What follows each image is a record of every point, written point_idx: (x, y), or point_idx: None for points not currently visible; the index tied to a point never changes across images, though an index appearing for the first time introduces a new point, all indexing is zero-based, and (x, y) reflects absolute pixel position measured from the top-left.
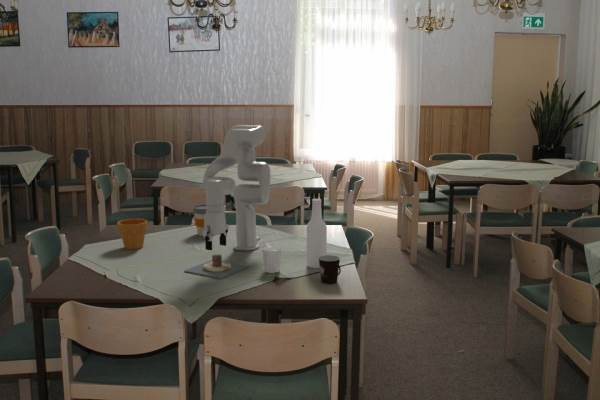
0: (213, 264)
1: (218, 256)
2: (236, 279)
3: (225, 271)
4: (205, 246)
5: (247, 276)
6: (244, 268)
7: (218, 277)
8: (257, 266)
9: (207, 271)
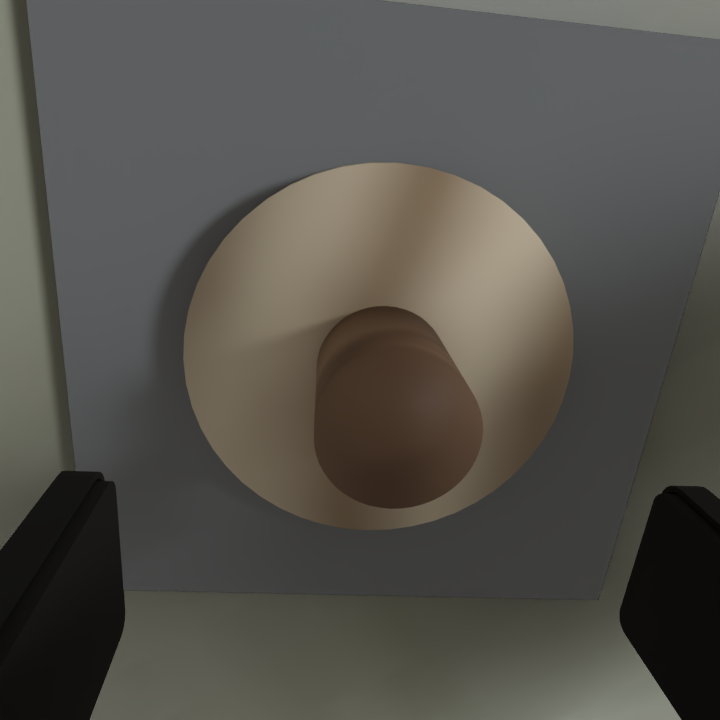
0: (319, 362)
1: (362, 489)
2: (174, 683)
3: None
4: (32, 512)
5: (304, 710)
6: (507, 592)
7: None
8: None
9: None
